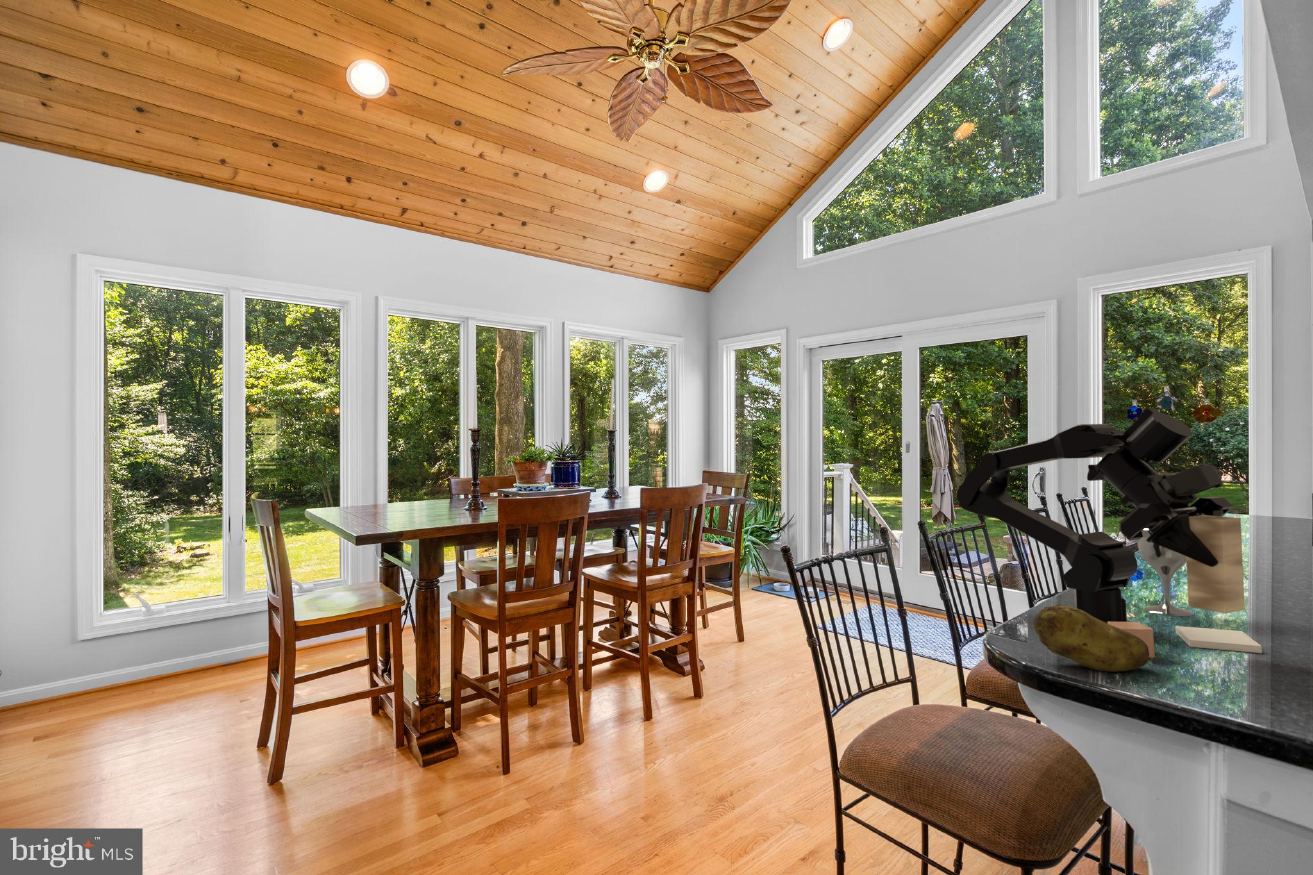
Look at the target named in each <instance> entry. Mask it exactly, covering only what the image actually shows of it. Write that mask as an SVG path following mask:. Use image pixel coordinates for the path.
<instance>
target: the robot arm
mask: <svg viewBox="0 0 1313 875" xmlns="http://www.w3.org/2000/svg"><path fill="white" fill-rule="evenodd" d="M1192 435H1193V431H1192V429H1191V428H1190V427H1189V426H1188V425H1187V424H1186V423H1184V422H1183V421H1182V420H1180V419H1176V418H1174V417H1173V416H1170V415H1169V414H1166V413H1162V412H1161V411H1159V410H1158V409H1157V408H1153V407H1151V408H1148V407H1147V408H1145V409H1144V410H1143V411H1142V412H1141V413H1140V414H1139V417H1138V418H1137V419H1136V420H1135V421H1134V422H1133V423H1132V424H1131V425H1130V426H1129V427H1128V428H1127V429H1126V430H1116V428H1114V427H1113V426H1111V425H1110V424H1108V423H1107V424H1106V423H1081V424H1075V425H1073V426H1070V427H1068V428H1065V429H1064V430H1061V431H1059V432H1057V433H1056V434H1055V435H1054V436H1052V437H1050V438H1047V439H1044V440H1038V441H1035V442H1031V443H1027V444H1023V445H1017V446H1014V447H1009V448H1005V449H1002V450H994V451H988V452H986V453H985V454H984V455H983V456H982V457H981V459H980V460H979V463H978V464H977V465H976V466H975V467H974V468H973V469H972V470H971V471H970V472H969V473H968V474H967V475H966V477H965V478H964V480H963V482H962V484H960V485H959V487H958V489H957V493H956V498H957V504H958V506H959V507H960V508H961V509H962V510H963V511H966V512H969V513H972V514H975V515H978V516H984V517H988V518H992V519H993V518H994V519H997V520H999V521H1001V522H1002V523H1004V524H1005V525H1008V526H1009V527H1012V528H1013V529H1015V530H1016V531H1018V532H1021V534H1024V535H1026V536H1028V537H1030V538H1031V539H1033V540H1035V541H1037V542H1039V543H1041V544H1042V545H1043V546H1046V547H1047V548H1049V549H1052V550H1053V551H1054V552H1057V553H1058V554H1060V555H1062V556H1063V557H1064V558H1065V560H1066V561H1067V563H1068V565H1070V567H1071V568H1069V569H1068V570H1067V571H1066V572H1065V573H1064V574H1062V579H1063V582H1064V583H1065V585H1066V588H1068V589H1072V590H1073V596H1074V608H1077V609H1079V610H1082V611H1084V612H1086V613H1088V614H1089V615H1091V616H1093V617H1095V618H1096V619H1098V620H1100V621H1103V622H1105V623H1107V624H1108V621H1109V622H1128V619H1127V618H1128V617H1127V616H1128V614H1127V600H1126V599H1125V598H1124V597H1123V596H1122V590H1121V589H1120V588H1127V587H1128V585H1129V583H1130V581H1131V580H1130V579H1131V577H1133V576H1134V575H1135V574H1136V573H1137V571H1138V567H1139V566H1138V565H1139V564H1138V559H1137V557H1136V554H1135V552H1134V551H1133V550H1132V549H1131V548H1129V547H1128V546H1125V545H1126V544H1127V543H1126V541H1122V540H1121V541H1120V540H1117V539H1115V538H1113V537H1112V536H1111V535H1109V534H1107V533H1106V532H1103V531H1096V532H1095V531H1094V532H1087V533H1079V532H1076V531H1075V530H1073V529H1071V528H1070V527H1067V526H1064V525H1063V524H1061V523H1059V522H1057V521H1055V520H1053V519H1051V518H1049V517H1047V516H1045V515H1043V514H1041V513H1039V512H1037V511H1035V510H1034V509H1031V508H1029V507H1027V506H1025V505H1023V504H1021V503H1019V502H1018V501H1015V500H1014V499H1013V498H1012V497H1011V495H1010V493H1009V491H1007V489H1008V488H1009V485H1010V478H1011V477H1010V475H1011V472H1012V470H1013V469H1016V468H1017V469H1018V468H1022V467H1026V466H1027V467H1028V466H1032V465H1036V464H1041V463H1047V462H1052V461H1057V460H1062V459H1064V460H1065V459H1066V460H1067V459H1068V460H1069V459H1090V458H1095V459H1096V458H1102V459H1100V461H1098V462H1097V464H1095V463H1094V464H1088V465H1087V468H1088V472H1087V475H1086V476H1087V477H1086V479H1087V481H1089V482H1094V481H1104V480H1107V481H1108V482H1109V484H1111V485H1112V487H1114V489H1116V490H1117V491H1118V493H1120V495H1122V496H1123V497H1122V498H1121V499H1120V502H1121V503H1122V504H1123V505H1124V506H1129V505H1133V507H1134V508H1133V509H1132V510H1131V511H1129V513H1128V514H1127V515H1126V516H1124V518H1122V519H1121V520H1120V521H1119V523H1118V525H1119V532H1120V533H1121V534H1122V535H1123V536H1124V537H1125V538H1126V540H1128V541H1137V540H1139V539H1141V538H1142V537H1143V534H1142V532H1141V531H1142V530H1143V529H1144V528H1146V527H1147V526H1148V527H1149V528H1150V530H1149V531H1150V532H1151V533H1152V535H1151V536H1150V537H1148V538H1147V539H1146V541H1147V542H1149V543H1155V544H1157V545H1160V546H1162V547H1165V548H1167V549H1170V550H1172V551H1175V552H1177V553H1180V554H1182V555H1184V556H1187V557H1189V558H1191V559H1194V560H1196V561H1198V562H1201V563H1203V564H1205V565H1208V566H1210V567H1214V566H1215V565H1217V564H1218V561H1217V559H1216V558H1215V557H1214V556H1213V554H1212V553H1211V552H1210V551H1209V550H1208V549H1207V547H1206V546H1205V545H1204V544H1203V543H1202V542H1201V541H1200V540H1199V538H1198V537H1197V536H1196V535H1195V534H1194V533H1193V532H1192V531H1191V529H1190V524H1189V517H1191V516H1201V515H1207V516H1220V517H1225V515H1226V514H1227V513H1229V512H1230V511H1231V510H1233V508H1234V505H1233V504H1232V503H1231V502H1230V501H1228V500H1227V498H1225V497H1223V496H1208V497H1207V496H1206V497H1198V496H1197V494H1199V493H1202V492H1205V491H1207V490H1211V489H1213V488H1215V489H1216V488H1221V487H1223V486H1225V484H1224V482H1223V475H1224V472H1223V470H1219V469H1218V467H1217V466H1216V465H1212V464H1209V463H1199V464H1198V465H1196V466H1191V467H1190V468H1187V469H1185V470H1183V471H1179V472H1177V473H1174V474H1172V475H1171V474H1159V473H1158V472H1157V471H1156V470H1155V469H1153V468H1152V467H1151V466H1150V465H1149V464H1147V463H1152V462H1156V463H1163V462H1164V461H1165V460H1167V458H1169V457H1170V456H1171V455H1172V454H1173V453H1174V452H1175V451H1177V449H1178V448H1180V447H1181V446H1182V445H1183V444H1184V443H1185V442H1186V441H1187V440H1188V439H1190V438H1191V437H1192ZM1194 501H1195V502H1194ZM1191 503H1192V504H1191ZM1189 504H1191V505H1190V506H1189Z"/></svg>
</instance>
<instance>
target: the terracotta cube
mask: <svg viewBox="0 0 1313 875" xmlns="http://www.w3.org/2000/svg"><path fill="white" fill-rule="evenodd" d="M1108 624H1109V625H1112V626H1115V627H1117V628H1120V629H1123V630H1125V631H1127V632H1129V633H1132V634H1134V635H1136V636H1137V637H1139V638H1140V639H1142V640H1143V641H1144V642H1145V643H1146V645H1147V646H1148V649H1149V658H1155V642H1154V629H1153V628H1151V627H1148V626H1146V625H1145V624H1143V623H1141V622H1139V621H1127V622H1109V621H1108Z"/></svg>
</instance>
